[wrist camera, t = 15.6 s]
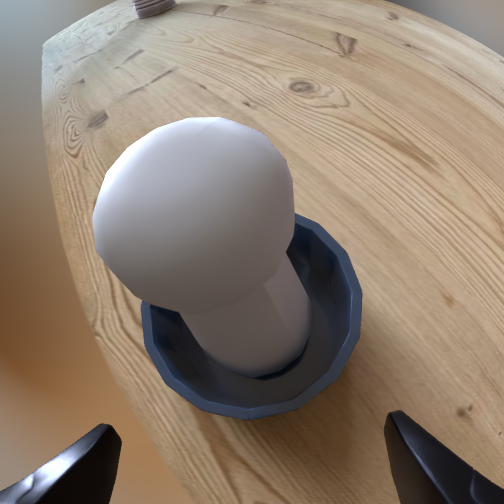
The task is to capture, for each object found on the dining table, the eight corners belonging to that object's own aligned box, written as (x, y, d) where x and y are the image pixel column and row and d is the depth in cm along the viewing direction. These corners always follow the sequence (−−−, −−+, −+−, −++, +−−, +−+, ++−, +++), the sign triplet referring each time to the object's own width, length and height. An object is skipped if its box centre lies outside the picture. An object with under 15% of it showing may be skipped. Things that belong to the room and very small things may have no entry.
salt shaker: (328, 349, 15) (413, 224, 4) (234, 395, 15) (67, 389, 3) (280, 264, 18) (249, 60, 7) (195, 306, 18) (52, 155, 6)
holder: (288, 441, 14) (285, 460, 9) (150, 350, 17) (106, 334, 13) (371, 293, 17) (394, 258, 13) (235, 227, 20) (218, 180, 16)
